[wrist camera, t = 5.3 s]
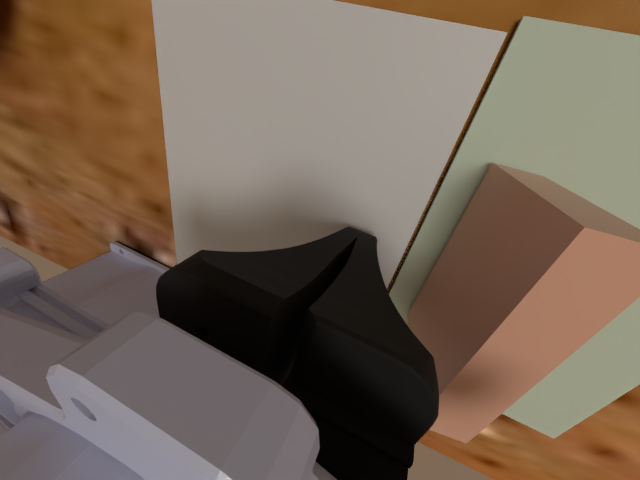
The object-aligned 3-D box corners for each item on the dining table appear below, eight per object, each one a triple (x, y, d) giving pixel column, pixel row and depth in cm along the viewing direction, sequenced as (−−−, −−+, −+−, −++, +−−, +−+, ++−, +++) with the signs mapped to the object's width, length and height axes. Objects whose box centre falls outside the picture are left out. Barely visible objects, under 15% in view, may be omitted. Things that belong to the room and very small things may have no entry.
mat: (364, 342, 18) (363, 346, 18) (520, 19, 9) (523, 15, 9) (551, 431, 16) (553, 438, 16) (1039, 108, 6) (1071, 108, 6)
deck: (209, 258, 21) (178, 278, 18) (205, -7, 13) (148, -34, 10) (362, 330, 18) (350, 366, 16) (489, 50, 10) (507, 32, 7)
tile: (414, 424, 10) (466, 443, 10) (584, 227, 6) (687, 256, 5) (407, 314, 15) (441, 325, 15) (492, 162, 11) (543, 176, 10)
